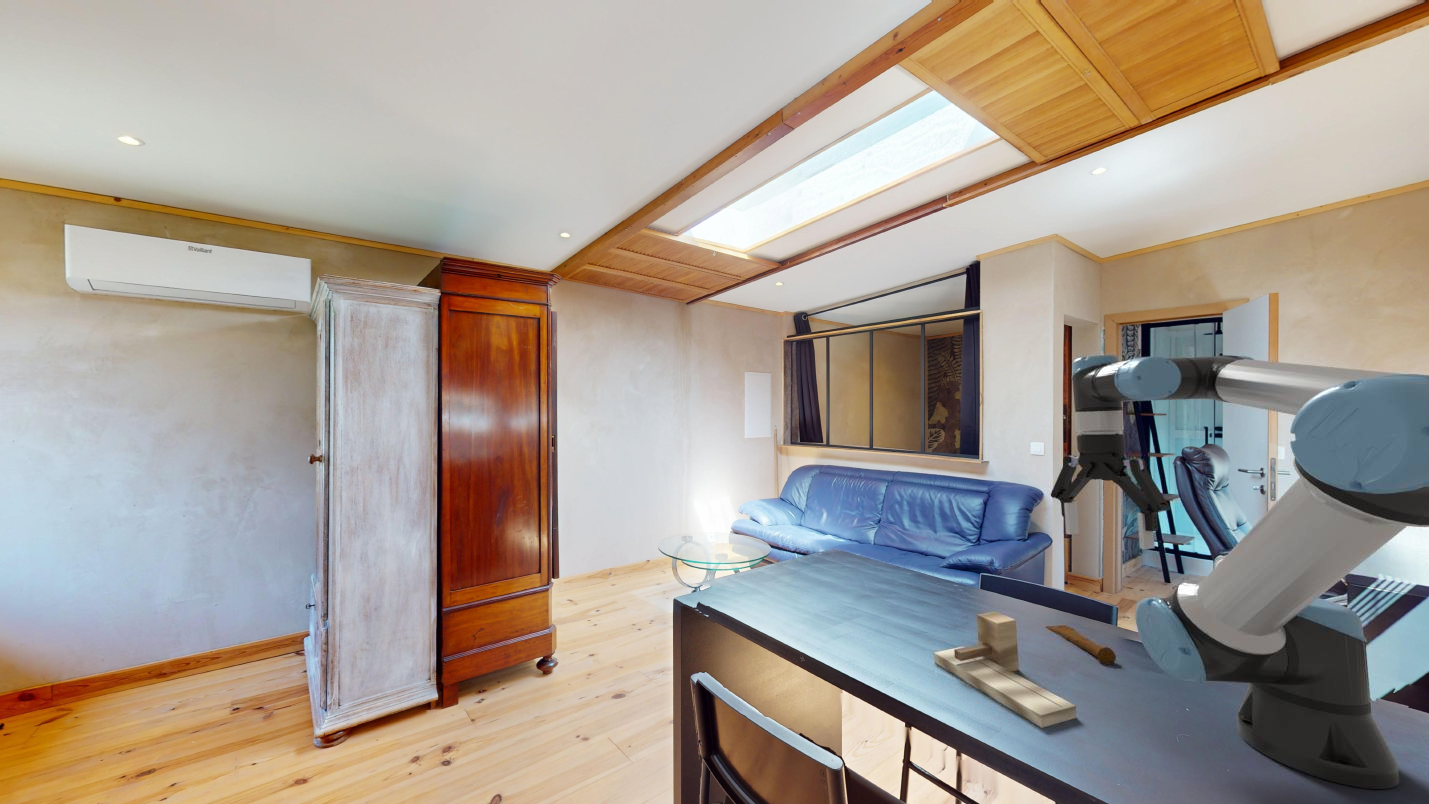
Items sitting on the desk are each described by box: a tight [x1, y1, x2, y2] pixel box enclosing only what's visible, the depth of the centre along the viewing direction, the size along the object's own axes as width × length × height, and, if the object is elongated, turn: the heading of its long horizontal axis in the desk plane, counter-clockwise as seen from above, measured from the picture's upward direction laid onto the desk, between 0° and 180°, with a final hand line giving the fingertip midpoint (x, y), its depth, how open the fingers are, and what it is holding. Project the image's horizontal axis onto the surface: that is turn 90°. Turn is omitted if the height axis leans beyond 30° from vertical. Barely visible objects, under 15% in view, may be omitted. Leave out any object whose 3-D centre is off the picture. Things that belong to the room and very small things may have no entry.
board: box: [933, 646, 1077, 729], centre depth 92 cm, size 24×8×2 cm, turn 18°
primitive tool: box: [1045, 624, 1117, 665], centre depth 109 cm, size 19×6×4 cm, turn 176°
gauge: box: [953, 611, 1020, 672], centre depth 99 cm, size 5×13×10 cm, turn 108°
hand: (1107, 540), depth 95 cm, fingers open, 13 cm apart
